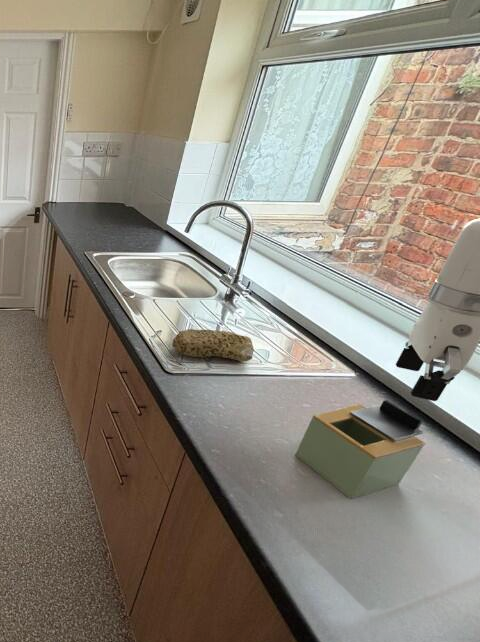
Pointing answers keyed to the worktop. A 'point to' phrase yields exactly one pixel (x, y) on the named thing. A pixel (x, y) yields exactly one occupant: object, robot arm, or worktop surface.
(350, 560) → the worktop surface
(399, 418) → the slider
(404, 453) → the green open box
